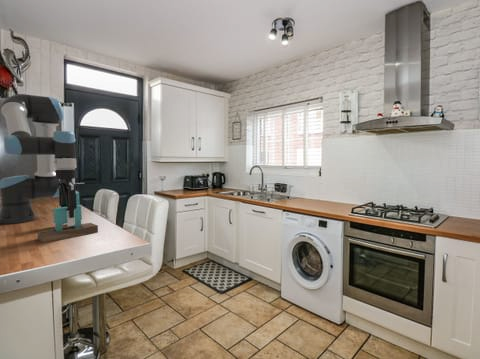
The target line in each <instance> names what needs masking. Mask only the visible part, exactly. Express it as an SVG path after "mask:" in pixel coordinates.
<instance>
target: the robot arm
mask: <svg viewBox="0 0 480 359" xmlns="http://www.w3.org/2000/svg"><path fill="white" fill-rule="evenodd" d="M0 113H1V114H2V116H3V117H4V118H5V123H6V128H7V133H8V134H7V135H5V136H4V137H3V146H4V149H3V150H4V152H5V154H7V155H15V156H23V155H25V156H26V155H27V156H28V155H30V156H31V155H32V156H33V155H34V156H35V155H36V162H37V163H36V164H37V171H35V172H34V175H33V177H30V175H28V174H24V175H23V174H22V175H14V176H9V177H3V178H2V179H0V202H1V203H0V204H1V207H0V208H1V209H0V224H1V225H3V224H4V225H5V224H6V225H7V224H8V225H9V224H10V225H11V224H18V223H19V224H20V223H27V222H31V221H34V220H36V217H37V216H36V213H35V211H34V209H33V207H32V203H31V200H38V199H52V198H58V202H59V203H58V206H59V207H60V208H61V207H67V209H65V210H66V211H67V222H65V223H62V225H63V224H66V225H67V226H66V227H68V226H74V225H75V209H76V208H77V205H76V191H77V184H76V185H74V184H75V183H74V182H73V179H77V178H78V170H77V168H78V167H77V166H78V165H77V153H76V152H77V151H76V135H75V132H73V131H67V130H57V126H59V125H60V122H62V121H63V120H64V113H63V108H62V104H61V102H60V100H59V99H57V98H54V97H50V96H41V95H33V94H28V93H19V94H18V93H17V94H13V95H10V96H8V97H6V98H5V99H4V100H3V101H2V103H1V105H0ZM28 119H31V123H32V124H33V125H34V126H35V131H36V132H35V133H36V134H35V136H32V132H31V129H30V124H29V122H28Z"/></svg>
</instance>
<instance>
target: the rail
mask: <svg viewBox="0 0 480 359" xmlns="http://www.w3.org/2000/svg"><path fill="white" fill-rule="evenodd" d="M62 227H63V231H59V232H56V231H55V228H50V229H46V230H45V229H44V230H39V231H37V232H36V233H37V240H39V241H40V242H42V243H43V244H45V243H46V244H47V243H49V242H55V241H60V240H64V239H71V238H76V237H82V236H86V235H90V234H96V233H99V225H98V224H96V223H95V224H94V223H93V222H87V223H81V228H76V229H75V228H74V225H72V226H62Z"/></svg>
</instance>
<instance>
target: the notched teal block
mask: <svg viewBox="0 0 480 359" xmlns="http://www.w3.org/2000/svg"><path fill="white" fill-rule="evenodd" d="M65 209H67V207H61V206H60V207H53V209H52V210H53V211H52V212H53V214H52V215H53V224H54V225H55V226H54V227H55V228H54V229H55V231H56V232H59V231H63V227H64V226H63V224H62V223H65V222H67V211H66V210H65ZM82 220H83V215H82V205H80V206H79V205H77V208H76V209H75V225H73V226H74V228H75V229H76V228H81V224H82ZM65 224H66V223H65Z"/></svg>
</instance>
